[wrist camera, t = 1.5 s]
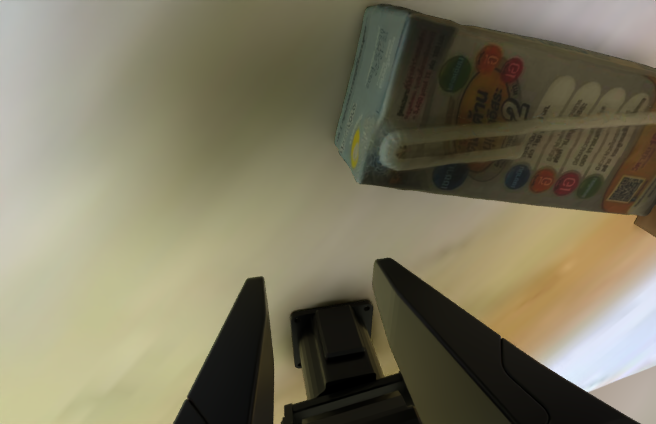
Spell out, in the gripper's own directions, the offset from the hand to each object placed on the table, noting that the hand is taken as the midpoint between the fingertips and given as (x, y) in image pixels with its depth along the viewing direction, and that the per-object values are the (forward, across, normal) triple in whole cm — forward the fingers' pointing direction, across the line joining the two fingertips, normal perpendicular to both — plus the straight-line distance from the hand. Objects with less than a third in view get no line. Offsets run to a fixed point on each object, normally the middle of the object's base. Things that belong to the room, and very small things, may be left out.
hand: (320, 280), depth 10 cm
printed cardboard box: (+14, -13, 0) cm, 19 cm away
